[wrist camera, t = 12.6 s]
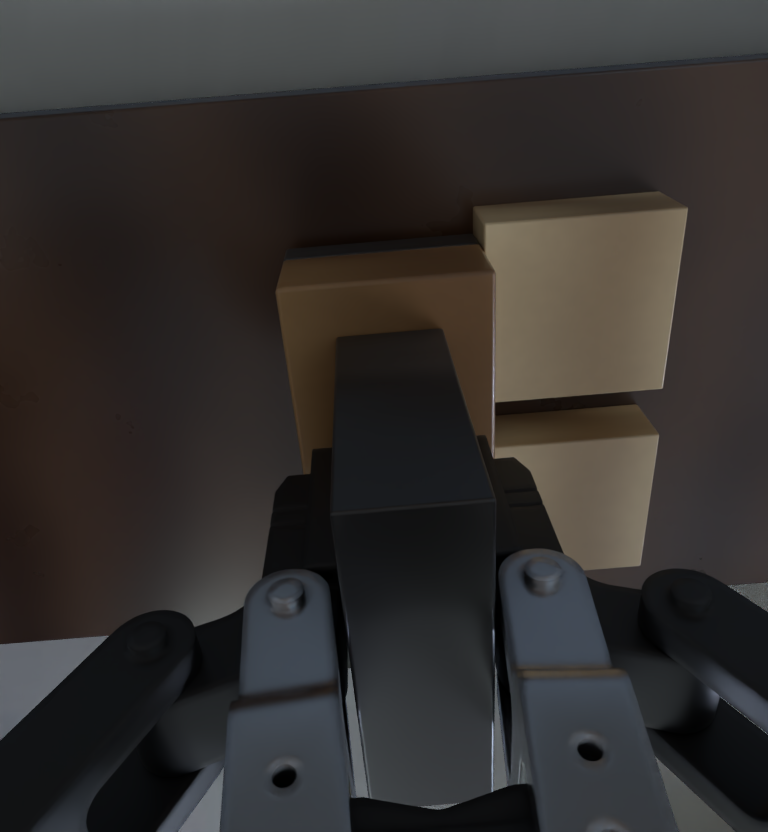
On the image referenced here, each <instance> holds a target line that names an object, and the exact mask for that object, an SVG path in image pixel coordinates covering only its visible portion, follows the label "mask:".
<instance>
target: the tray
mask: <svg viewBox="0 0 768 832" xmlns="http://www.w3.org/2000/svg"><path fill="white" fill-rule="evenodd" d="M656 191H659V192H661V193H663V194H665V195H666V196H668V197H670V198H672V199H674V200H675V201H677V202H679V203H681V204H683V205H685V206H686V207H687V208H688V212H687V219H686V226H685V234H684V241H683V248H682V255H681V262H680V269H679V276H678V283H677V291H676V298H675V305H674V312H673V319H672V326H671V333H670V340H669V348H668V355H667V362H666V369H665V376H664V383H663V388H662V389H653V390H641V391H629V392H616V393H604V394H592V395H580V396H568V397H556V398H543V399H531V400H519V401H507V402H495V416H497V415H510V414H522V413H535V412H547V411H559V410H572V409H584V408H597V407H609V406H622V405H634V404H636V405H638V407H639V408H640V409H641V411H642V412H643V413H644V415H645V416H646V417H647V419H648V420H649V421H650V423H651V424H652V425H653V427H654V428H655V429H656V431H657V432H658V433H659V440H658V447H657V454H656V461H655V468H654V475H653V482H652V489H651V496H650V503H649V510H648V517H647V524H646V531H645V538H644V544H643V551H642V558H641V565H640V566H632V567H620V568H608V569H595V570H584V573H585V575H586V576H587V577H589V578H591V579H593V580H595V581H598V582H601V583H605V584H609V585H614V586H621V587H627V588H634V589H640V590H642V585H643V583H644V581H645V580H646V579H647V578H648V577H649V576H650V575H652V574H654V573H656V572H658V571H661V570H665V569H672V568H681V569H690V570H694V571H698V572H701V573H704V574H707V575H709V576H711V577H713V578H715V579H717V580H719V581H720V582H722V583H723V584H725V585H726V586H727V585H739V584H751V583H764V582H767V581H768V53H767V54H754V55H741V56H729V57H716V58H703V59H690V60H678V61H665V62H652V63H639V64H627V65H614V66H601V67H588V68H576V69H563V70H550V71H537V72H525V73H512V74H499V75H486V76H474V77H461V78H448V79H435V80H423V81H410V82H397V83H384V84H372V85H359V86H346V87H333V88H321V89H308V90H295V91H282V92H270V93H257V94H244V95H231V96H219V97H206V98H193V99H180V100H168V101H155V102H142V103H129V104H117V105H104V106H91V107H78V108H66V109H53V110H40V111H27V112H15V113H2V114H0V644H9V643H22V642H34V641H46V640H59V639H71V638H83V637H96V636H108V635H111V634H112V633H113V632H114V631H115V630H116V629H117V628H119V627H120V626H121V625H122V624H124V623H125V622H127V621H128V620H130V619H132V618H134V617H136V616H139V615H141V614H144V613H147V612H151V611H157V610H171V611H176V612H180V613H182V614H184V615H186V616H187V617H188V618H189V619H190V620H191V621H192V622H193V625H194V627H196V626H199V625H202V624H205V623H208V622H211V621H214V620H217V619H220V618H222V617H225V616H228V615H230V614H232V613H233V612H235V611H237V610H239V609H240V608H242V607H243V606H244V601H245V598H246V595H247V593H248V592H249V590H250V589H251V588H252V586H253V585H254V584H255V583H257V582H258V581H259V580H260V579H262V574H263V568H264V561H265V555H266V548H267V542H268V535H269V529H270V522H271V516H272V513H273V510H272V509H273V503H274V496H275V492H276V490H277V489H278V488H279V487H280V485H281V484H282V483H283V482H284V480H285V479H286V478H287V476H291V475H303V468H302V462H301V455H300V449H299V442H298V436H297V429H296V423H295V416H294V410H293V404H292V397H291V391H290V384H289V378H288V371H287V365H286V358H285V352H284V345H283V339H282V333H281V326H280V320H279V313H278V307H277V300H276V294H275V291H276V287H277V284H278V280H279V276H280V273H281V269H282V265H283V261H284V257H285V253H286V250H288V249H293V248H305V247H317V246H329V245H341V244H353V243H365V242H377V241H389V240H400V239H412V238H424V237H436V236H448V235H460V234H473V207H475V206H485V205H497V204H510V203H522V202H534V201H546V200H558V199H571V198H583V197H595V196H607V195H619V194H632V193H644V192H656Z"/></svg>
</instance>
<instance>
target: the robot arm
mask: <svg viewBox="0 0 768 832" xmlns="http://www.w3.org/2000/svg"><path fill="white" fill-rule="evenodd" d="M476 437H477V440H478V443H479V446H480V450H481V453H482V456H483V459H484V463H485V466H486V469H487V472H488V475H489V479H490V482H491V485H492V488H493V491H494V495H495V498H496V588H495V664H496V669H497V698H498V707H499V715H500V724H501V733H502V742H503V750H504V759H505V768H506V777H507V787H504V788H502V789H499V790H496V791H493V792H491V793H488V794H485V795H482V796H479V797H477V798H474V799H471V800H468V801H466V802H463V803H460V804H457V805H454V806H452V807H449V808H445V809H439V810H436V809H428V808H422V807H416V806H411V805H405V804H399V803H393V802H387V801H382V800H376V799H370V798H364V797H361V798H356V791H355V781H354V771H353V762H352V752H351V742H350V733H349V723H348V713H347V704H346V694H347V688H348V668H351V665H350V658H349V651H348V644H347V636H346V629H345V622H344V615H343V607H342V600H341V593H340V585H339V578H338V571H337V564H336V556H335V549H334V542H333V534H332V527H331V520H330V494H331V466H332V447H330V448H318V449H313V450H312V459H311V472H310V474H303V475H291V476H287V478H286V479H285V480H284V482H283V483H282V484H281V485H280V487H279V488H278V489H277V490H276V492H275V496H274V503H273V509H272V510H273V513H272V516H271V522H270V529H269V535H268V542H267V548H266V555H265V561H264V568H263V574H262V579H260V580H259V581H258V582H257V583H255V584H254V585H253V586H252V588H251V589H250V590H249V592H248V593H247V595H246V598H245V601H244V606H243V607H242V608H240V609H239V610H237V611H235V612H233V613H232V614H230V615H228V616H225V617H222V618H220V619H217V620H214V621H211V622H208V623H205V624H202V625H199V626H196V627H194V625H193V622H192V621H191V620H190V619H189V618H188V617H187V616H186V615H184V614H182V613H180V612H176V611H171V610H157V611H151V612H147V613H144V614H141V615H139V616H136V617H134V618H132V619H130V620H128V621H127V622H125V623H124V624H122V625H121V626H120V627H119V628H117V629H116V630H115V631H114V632H113V633H112V634H111V635H110V636H109V637H108V638H107V639H106V640H105V641H104V642H103V643H102V644H101V645H99V646H98V647H97V648H96V649H95V650H94V651H93V652H92V653H91V654H90V655H89V656H88V657H87V658H86V659H85V660H84V661H83V662H82V663H81V664H80V665H79V666H78V667H77V668H76V669H74V670H73V671H72V672H71V673H70V674H69V675H68V676H67V677H66V678H65V679H64V680H63V681H62V682H61V683H60V684H59V685H58V686H57V687H56V688H55V689H54V690H53V691H52V692H51V693H49V694H48V695H47V696H46V697H45V698H44V699H43V700H42V701H41V702H40V703H39V704H38V705H37V706H36V707H35V708H34V709H33V710H32V711H31V712H30V713H29V714H28V715H27V716H26V717H24V718H23V719H22V720H21V721H20V722H19V723H18V724H17V725H16V726H15V727H14V728H13V729H12V730H11V731H10V732H9V733H8V734H7V735H6V736H5V737H4V738H3V739H2V740H1V741H0V832H178V831H179V829H180V828H181V826H182V825H183V824H184V822H185V821H186V819H187V818H188V817H189V815H190V814H191V813H192V811H193V810H194V808H195V807H196V806H197V804H198V803H199V801H200V800H201V799H202V797H203V796H204V794H205V793H206V792H207V790H208V789H209V788H210V786H211V785H212V783H213V782H214V781H215V779H216V778H217V776H218V775H219V774H220V772H221V770H222V769H223V767H224V776H223V790H222V805H221V819H220V832H679V831H678V828H677V825H676V822H675V818H674V815H673V812H672V809H671V806H670V803H669V800H668V796H667V793H666V790H665V787H664V784H663V781H662V777H661V774H660V771H659V768H658V765H657V762H656V759H655V756H656V757H657V758H658V759H659V760H660V761H661V762H662V763H663V764H664V765H665V766H666V767H667V768H669V769H670V770H671V771H672V772H673V773H674V774H675V775H676V776H677V777H678V778H679V779H680V780H681V781H682V782H684V783H685V784H686V785H687V786H688V787H689V788H690V789H691V790H692V791H693V792H694V793H695V794H696V795H697V796H699V797H700V798H701V799H702V800H703V801H704V802H705V803H706V804H707V805H708V806H709V807H710V808H711V809H712V810H713V811H715V812H716V813H717V814H718V815H719V816H720V817H721V818H722V819H723V820H724V821H725V822H726V823H727V824H728V825H730V826H731V827H732V828H733V829H734V830H735V831H736V832H768V735H767V734H768V612H767V611H765V610H764V609H762V608H761V607H759V606H757V605H756V604H754V603H753V602H751V601H750V600H748V599H747V598H745V597H744V596H742V595H740V594H739V593H737V592H736V591H734V590H733V589H731V588H730V587H728V586H726V585H725V584H723V583H722V582H720V581H719V580H717V579H715V578H713V577H711V576H709V575H707V574H704V573H701V572H698V571H694V570H690V569H681V568H672V569H665V570H661V571H658V572H656V573H654V574H652V575H650V576H649V577H648V578H647V579H646V580H645V581H644V583H643V585H642V590H640V589H634V588H627V587H621V586H614V585H609V584H605V583H601V582H598V581H595V580H593V579H591V578H589V577H587V576H586V575H585V573H584V570H583V569H582V568H581V566H580V565H579V564H578V563H577V562H576V561H575V560H573V559H572V558H571V557H569V556H567V555H565V554H564V553H563V550H562V548H561V545H560V543H559V541H558V538H557V536H556V533H555V531H554V528H553V526H552V523H551V521H550V518H549V516H548V513H547V511H546V508H545V506H544V505H543V501H542V499H541V496H540V494H539V491H537V486H536V484H535V481H534V479H533V476H532V474H531V471H530V470H529V469H527V468H526V467H525V466H524V465H523V464H522V463H520V462H519V461H518V460H517V459H516V458H514V457H508V458H496V459H493V456H492V453H491V450H490V447H489V444H488V441H487V438H486V436H485V435H476ZM720 697H722V698H723V699H724V700H726V701H727V702H728V703H729V704H731V705H732V706H733V707H734V708H736V709H737V710H738V711H740V712H741V713H742V714H743V715H745V716H746V717H747V718H748V719H750V720H751V721H752V722H754V723H755V724H756V725H757V726H759V727H760V728H761V729H762V730H764V731H765V732H766V733H767V734H766V733H765V732H763V731H762V730H761V729H760V728H758V727H757V726H756V725H755V724H753V723H752V722H751V721H749V720H748V719H747V718H746V717H744V716H743V715H742V714H741V713H739V712H738V711H737V710H735V709H734V708H733V707H732V706H730V705H729V704H728V703H727V702H725V701H724V700H723V699H722V698H720Z"/></svg>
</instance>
